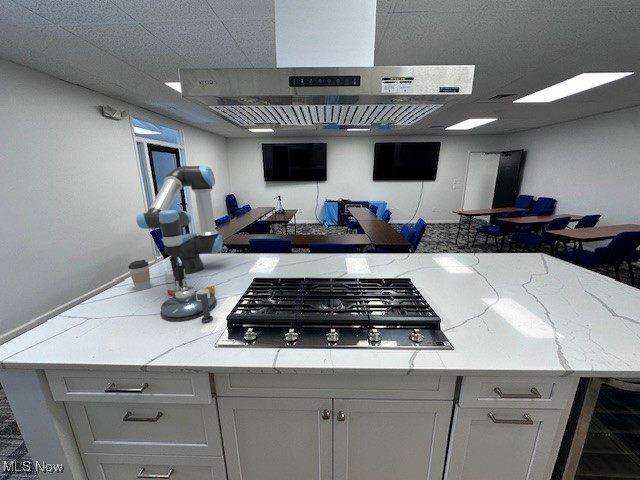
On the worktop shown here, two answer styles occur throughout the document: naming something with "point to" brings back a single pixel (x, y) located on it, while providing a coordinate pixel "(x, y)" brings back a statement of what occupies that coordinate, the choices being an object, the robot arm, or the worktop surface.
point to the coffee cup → (140, 274)
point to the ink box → (173, 282)
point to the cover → (185, 294)
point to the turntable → (186, 306)
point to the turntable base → (187, 317)
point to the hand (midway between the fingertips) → (181, 291)
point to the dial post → (204, 304)
